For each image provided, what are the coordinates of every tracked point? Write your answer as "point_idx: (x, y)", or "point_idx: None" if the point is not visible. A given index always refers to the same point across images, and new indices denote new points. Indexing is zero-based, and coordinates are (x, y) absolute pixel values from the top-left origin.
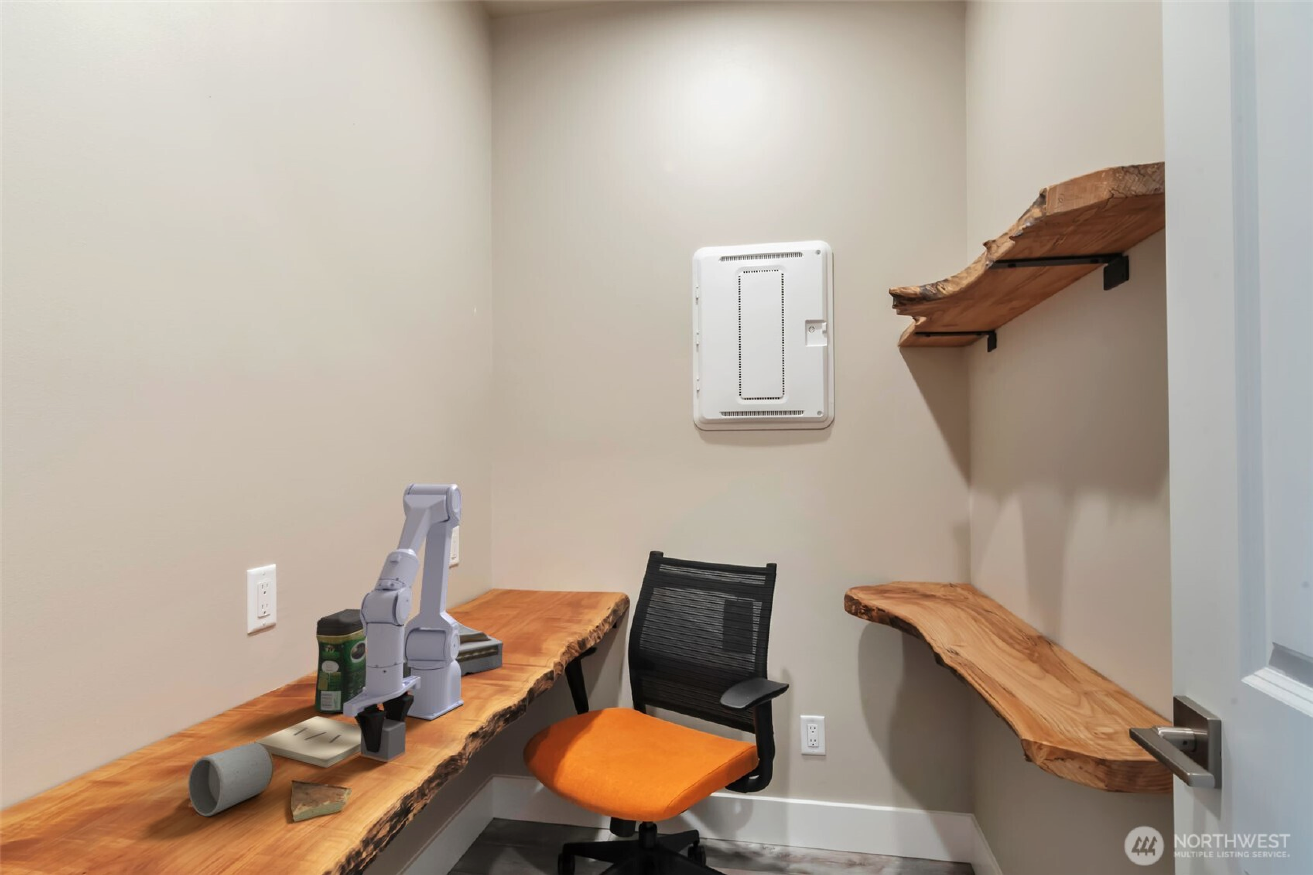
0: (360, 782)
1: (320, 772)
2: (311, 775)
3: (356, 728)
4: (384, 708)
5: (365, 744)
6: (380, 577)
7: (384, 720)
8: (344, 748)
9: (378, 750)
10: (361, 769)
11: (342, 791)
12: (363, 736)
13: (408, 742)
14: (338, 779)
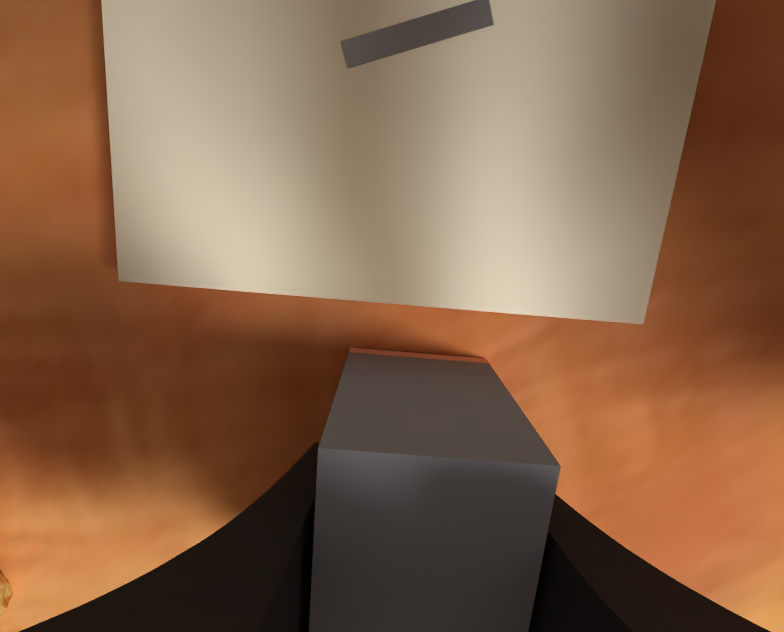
0: (118, 557)
1: (93, 284)
2: (42, 263)
3: (647, 46)
4: (611, 627)
5: (300, 458)
6: None
7: (497, 577)
8: (305, 255)
9: None
10: (222, 469)
11: None
12: (271, 487)
13: (590, 479)
14: (86, 440)
